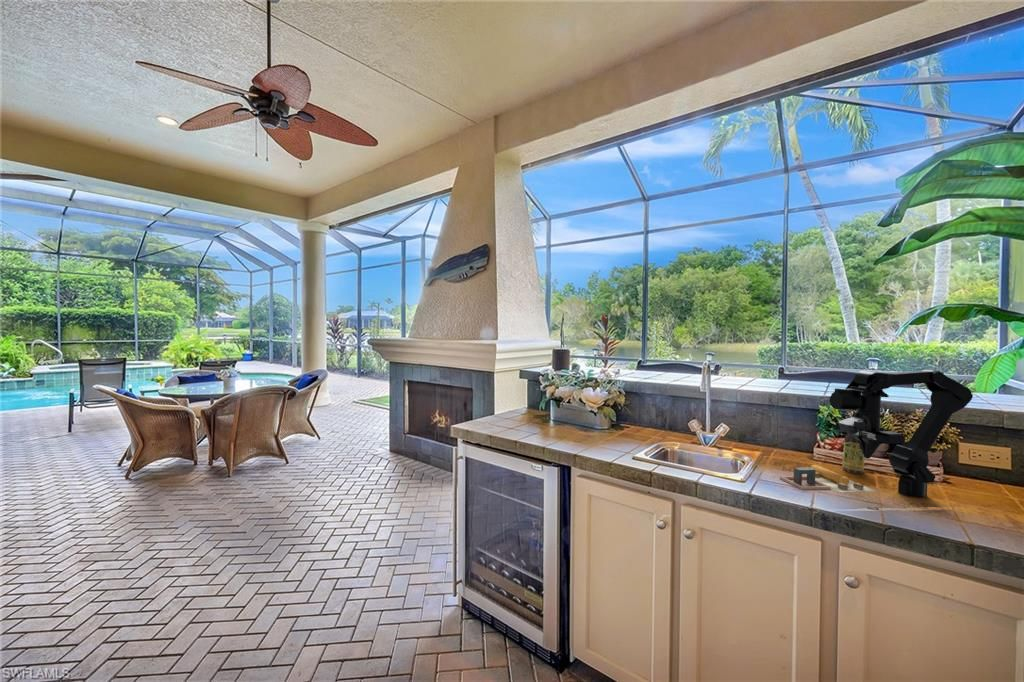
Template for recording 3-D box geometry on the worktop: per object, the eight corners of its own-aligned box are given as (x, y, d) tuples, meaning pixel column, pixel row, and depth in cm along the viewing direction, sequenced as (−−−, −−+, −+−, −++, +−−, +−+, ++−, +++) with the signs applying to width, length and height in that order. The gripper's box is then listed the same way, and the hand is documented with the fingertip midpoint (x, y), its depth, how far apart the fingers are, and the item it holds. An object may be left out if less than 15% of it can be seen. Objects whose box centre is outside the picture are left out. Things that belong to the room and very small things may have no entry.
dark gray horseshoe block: (809, 483, 140) (809, 467, 139) (815, 485, 137) (815, 469, 137) (793, 483, 139) (793, 467, 139) (798, 485, 137) (799, 470, 137)
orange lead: (807, 470, 151) (808, 462, 151) (814, 471, 151) (816, 464, 151) (842, 486, 136) (844, 477, 136) (851, 487, 136) (852, 478, 136)
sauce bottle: (841, 472, 152) (843, 420, 152) (842, 468, 157) (844, 417, 156) (864, 477, 148) (866, 423, 147) (865, 472, 152) (866, 420, 152)
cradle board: (799, 475, 148) (799, 469, 148) (832, 475, 149) (832, 469, 149) (840, 494, 131) (840, 487, 131) (877, 493, 132) (877, 487, 132)
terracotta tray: (806, 480, 143) (806, 475, 143) (830, 491, 133) (830, 486, 133) (779, 480, 143) (779, 476, 143) (801, 491, 133) (802, 487, 133)
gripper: (821, 405, 139) (819, 449, 140) (872, 416, 121) (871, 468, 121) (851, 405, 140) (850, 449, 140) (907, 416, 121) (905, 467, 122)
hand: (867, 458), depth 131 cm, fingers closed
